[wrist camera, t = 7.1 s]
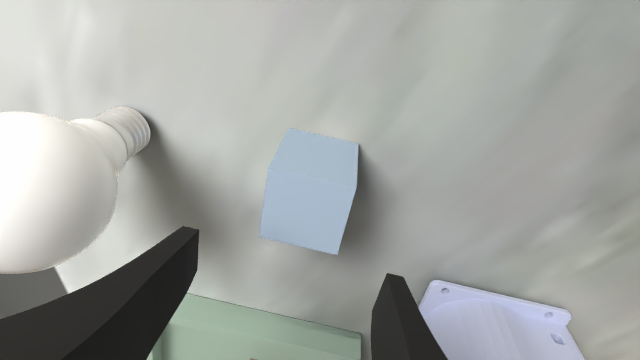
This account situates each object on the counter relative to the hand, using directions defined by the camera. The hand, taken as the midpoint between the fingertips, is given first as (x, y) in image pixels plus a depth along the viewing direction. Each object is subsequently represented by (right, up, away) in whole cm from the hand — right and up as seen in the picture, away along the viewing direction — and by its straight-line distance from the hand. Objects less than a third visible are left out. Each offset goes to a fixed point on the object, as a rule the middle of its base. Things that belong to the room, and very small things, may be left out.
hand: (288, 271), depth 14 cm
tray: (-5, -12, +18) cm, 22 cm away
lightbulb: (-10, +7, +8) cm, 14 cm away
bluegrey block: (+1, +4, +8) cm, 9 cm away
